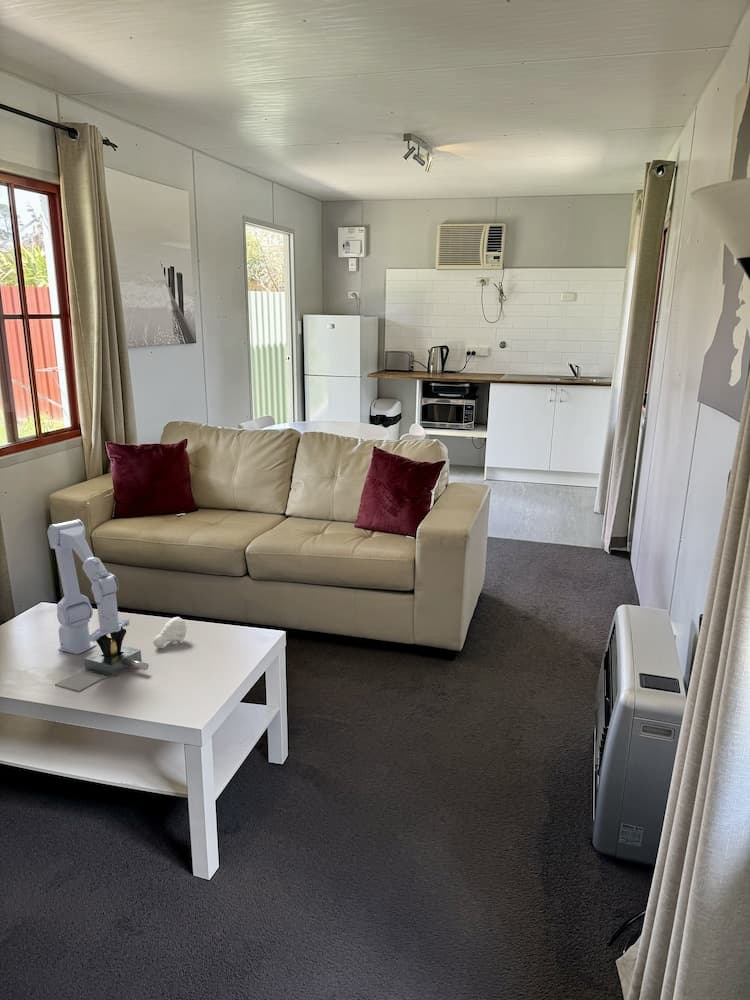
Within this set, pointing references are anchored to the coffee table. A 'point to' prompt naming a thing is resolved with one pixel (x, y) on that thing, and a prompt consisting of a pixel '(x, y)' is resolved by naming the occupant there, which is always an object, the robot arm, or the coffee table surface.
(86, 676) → the rubber mat
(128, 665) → the chuck block
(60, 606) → the robot arm
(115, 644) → the gold metal cylinder
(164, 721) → the coffee table surface
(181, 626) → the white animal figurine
